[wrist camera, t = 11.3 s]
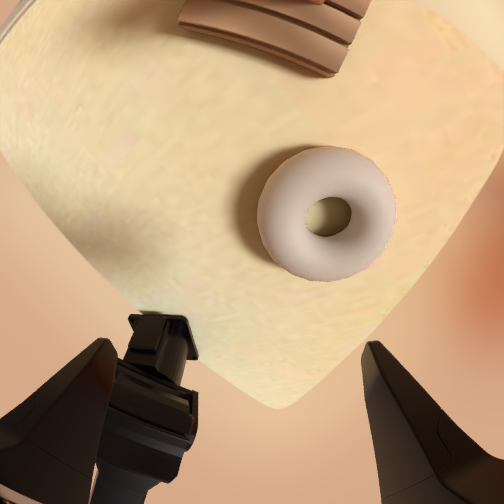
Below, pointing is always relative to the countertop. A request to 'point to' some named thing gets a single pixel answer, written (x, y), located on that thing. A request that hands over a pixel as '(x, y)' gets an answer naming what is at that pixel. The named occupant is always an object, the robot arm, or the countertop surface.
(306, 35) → the stacked wooden slats
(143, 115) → the countertop surface
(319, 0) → the clay bar
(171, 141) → the countertop surface
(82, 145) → the countertop surface
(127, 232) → the countertop surface
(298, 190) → the donut
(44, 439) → the robot arm
